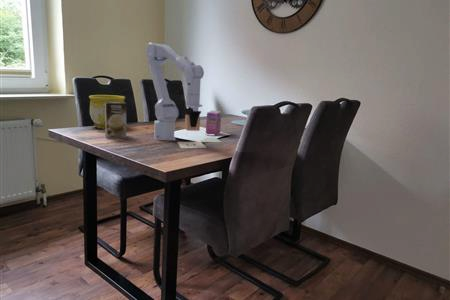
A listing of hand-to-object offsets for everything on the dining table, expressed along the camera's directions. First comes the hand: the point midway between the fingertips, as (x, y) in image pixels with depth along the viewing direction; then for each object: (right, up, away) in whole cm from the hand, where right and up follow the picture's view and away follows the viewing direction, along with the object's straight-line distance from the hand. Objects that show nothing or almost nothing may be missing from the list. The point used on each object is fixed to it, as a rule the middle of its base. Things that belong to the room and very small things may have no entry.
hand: (192, 125), depth 148 cm
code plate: (-1, -9, +2) cm, 9 cm away
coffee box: (-37, -4, +12) cm, 39 cm away
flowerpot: (-49, +2, +35) cm, 60 cm away
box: (+8, -2, +33) cm, 34 cm away
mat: (+7, -6, +14) cm, 17 cm away
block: (0, -2, 0) cm, 2 cm away
